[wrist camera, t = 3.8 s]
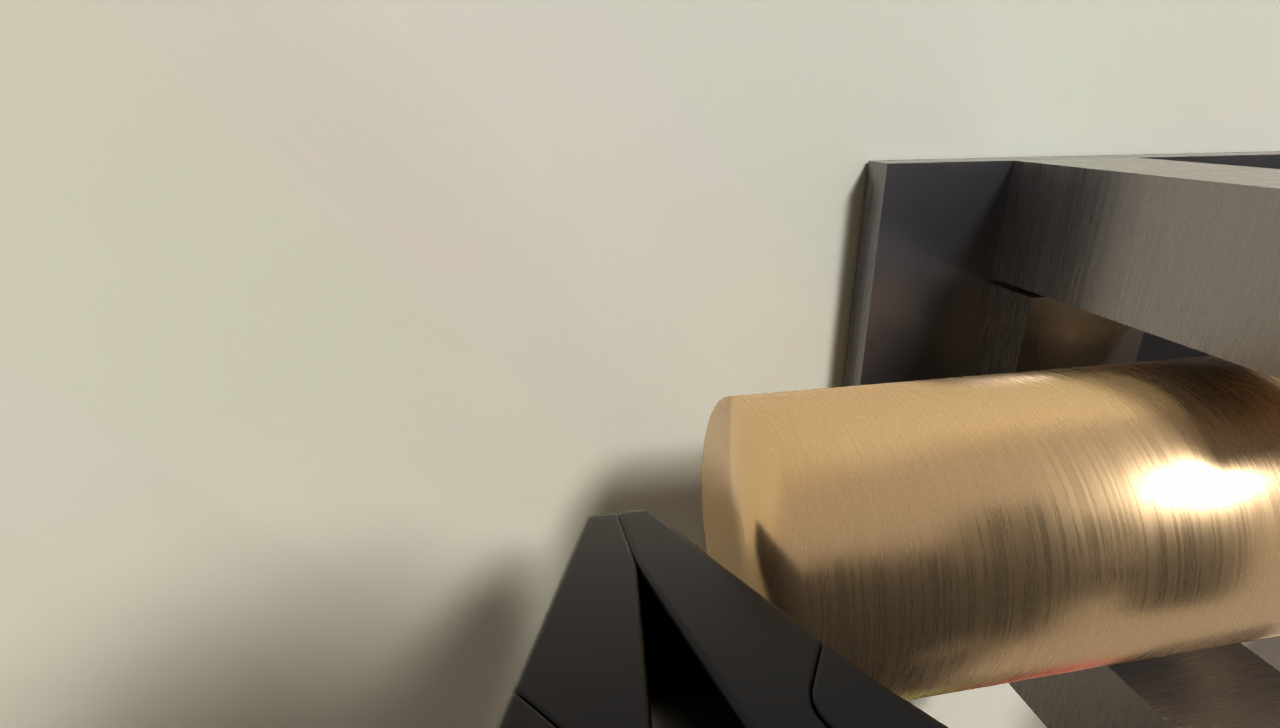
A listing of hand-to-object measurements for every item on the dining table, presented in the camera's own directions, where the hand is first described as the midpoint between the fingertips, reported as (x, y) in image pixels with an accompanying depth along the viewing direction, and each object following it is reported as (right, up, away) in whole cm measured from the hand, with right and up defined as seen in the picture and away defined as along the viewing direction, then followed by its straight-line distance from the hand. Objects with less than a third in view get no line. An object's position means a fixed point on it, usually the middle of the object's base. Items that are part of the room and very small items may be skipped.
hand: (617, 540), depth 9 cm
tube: (+8, +1, +3) cm, 9 cm away
